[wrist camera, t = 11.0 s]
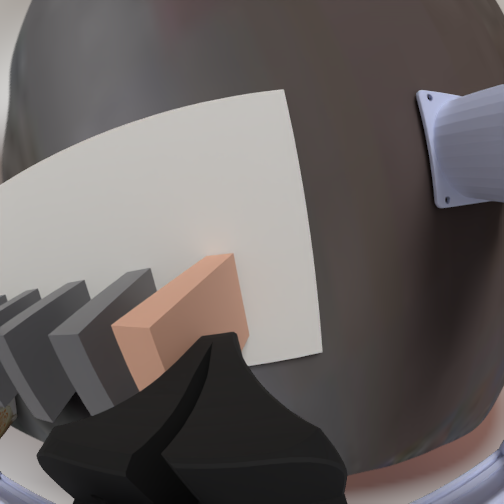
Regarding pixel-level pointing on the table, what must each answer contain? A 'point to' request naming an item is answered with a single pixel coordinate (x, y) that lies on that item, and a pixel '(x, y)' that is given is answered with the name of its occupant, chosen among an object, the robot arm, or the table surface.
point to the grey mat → (175, 214)
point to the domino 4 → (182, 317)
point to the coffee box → (7, 416)
